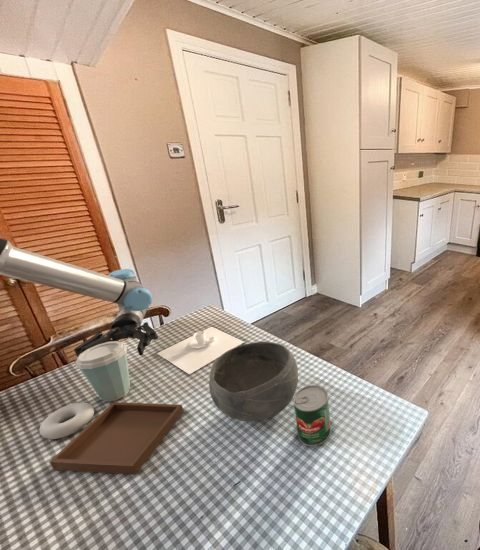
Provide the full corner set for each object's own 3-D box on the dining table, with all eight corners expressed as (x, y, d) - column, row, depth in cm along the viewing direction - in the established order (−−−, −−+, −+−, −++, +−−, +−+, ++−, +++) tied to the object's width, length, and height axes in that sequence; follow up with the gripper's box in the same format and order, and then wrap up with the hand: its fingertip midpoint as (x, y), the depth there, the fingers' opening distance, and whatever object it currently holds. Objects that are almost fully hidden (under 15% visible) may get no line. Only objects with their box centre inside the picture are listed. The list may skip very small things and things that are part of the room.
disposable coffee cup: (83, 403, 82) (61, 358, 77) (121, 377, 92) (104, 335, 86) (113, 410, 80) (93, 364, 74) (149, 382, 90) (134, 340, 84)
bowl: (220, 390, 86) (209, 346, 81) (295, 372, 93) (290, 331, 88) (214, 454, 68) (200, 403, 63) (307, 425, 75) (302, 377, 69)
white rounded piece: (220, 341, 109) (218, 331, 107) (199, 352, 103) (196, 342, 101) (206, 334, 113) (203, 324, 112) (184, 344, 107) (182, 335, 106)
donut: (100, 422, 77) (91, 402, 83) (96, 412, 75) (86, 393, 81) (46, 450, 70) (39, 427, 75) (39, 440, 68) (34, 416, 74)
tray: (53, 470, 65) (48, 461, 64) (116, 409, 80) (113, 401, 79) (135, 474, 64) (132, 466, 63) (184, 412, 79) (181, 404, 78)
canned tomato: (326, 414, 78) (323, 381, 74) (334, 440, 71) (332, 404, 67) (295, 424, 75) (291, 390, 71) (301, 451, 69) (296, 415, 64)
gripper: (172, 323, 110) (165, 356, 92) (85, 341, 100) (59, 382, 82) (167, 305, 107) (159, 335, 90) (77, 322, 97) (47, 359, 80)
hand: (111, 358), depth 86 cm, fingers open, 13 cm apart
